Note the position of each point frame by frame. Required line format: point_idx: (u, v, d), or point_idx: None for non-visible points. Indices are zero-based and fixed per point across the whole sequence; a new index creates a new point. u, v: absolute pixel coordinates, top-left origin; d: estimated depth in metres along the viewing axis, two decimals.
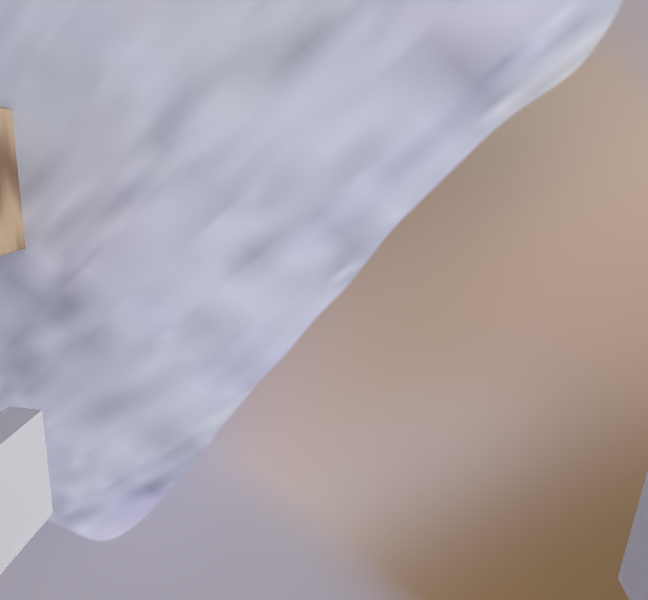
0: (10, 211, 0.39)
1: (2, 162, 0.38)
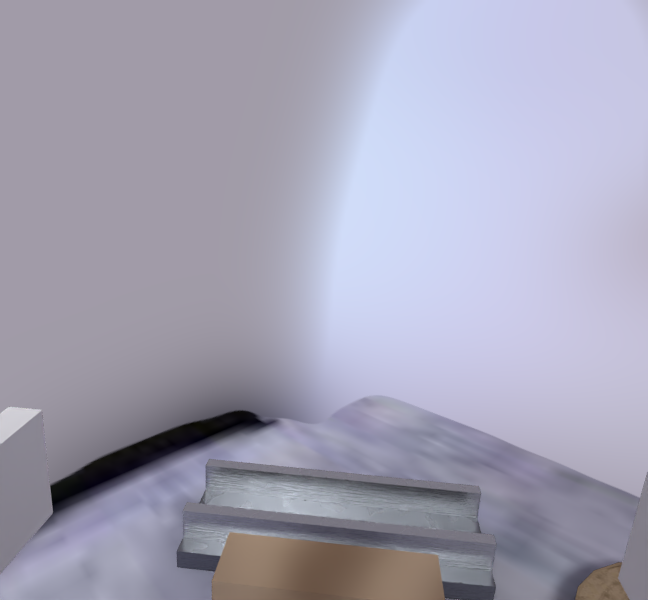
0: None
1: None
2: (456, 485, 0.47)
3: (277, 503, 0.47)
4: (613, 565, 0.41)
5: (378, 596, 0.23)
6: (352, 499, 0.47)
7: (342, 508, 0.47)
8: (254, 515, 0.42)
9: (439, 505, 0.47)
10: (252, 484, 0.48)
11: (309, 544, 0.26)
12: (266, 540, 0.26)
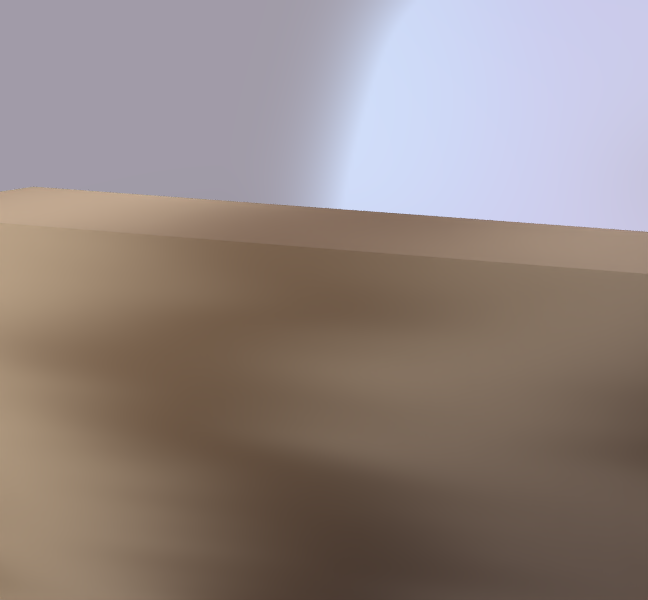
0: None
1: None
2: None
3: None
4: None
5: (546, 262, 0.05)
6: None
7: None
8: None
9: None
10: None
11: (274, 206, 0.08)
12: (139, 196, 0.08)
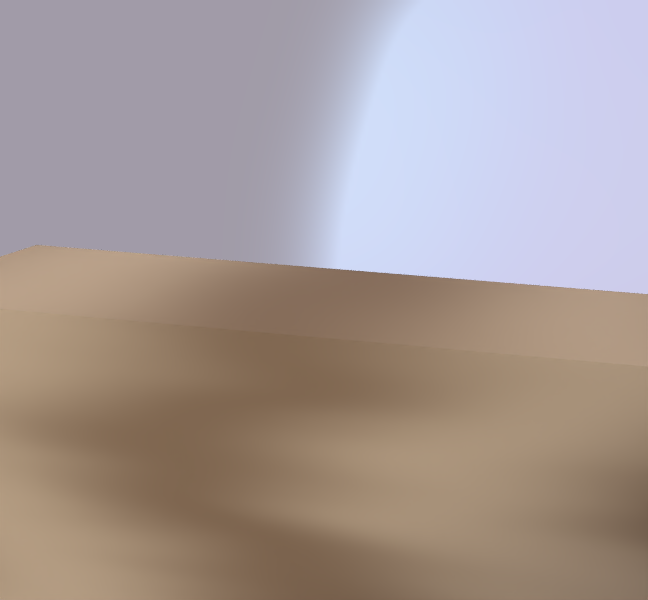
0: None
1: None
2: None
3: None
4: None
5: (532, 349, 0.06)
6: None
7: None
8: None
9: None
10: None
11: (271, 267, 0.08)
12: (140, 257, 0.08)
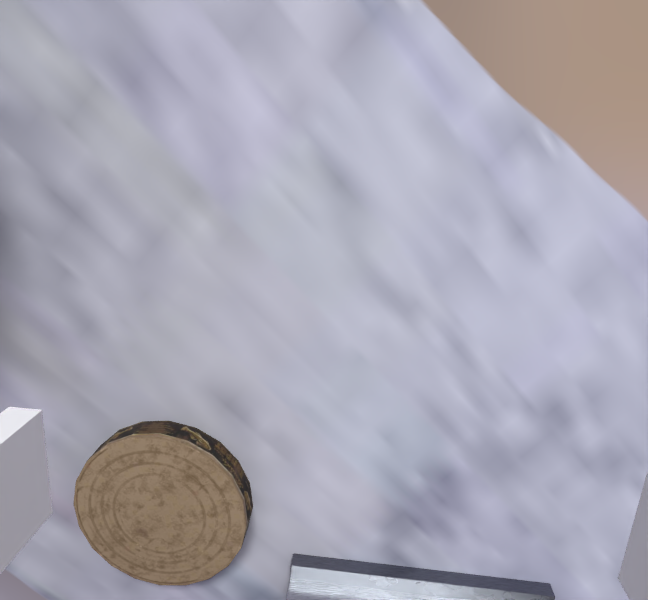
0: None
1: None
2: None
3: None
4: (191, 582, 0.50)
5: None
6: None
7: None
8: None
9: None
10: None
11: None
12: None
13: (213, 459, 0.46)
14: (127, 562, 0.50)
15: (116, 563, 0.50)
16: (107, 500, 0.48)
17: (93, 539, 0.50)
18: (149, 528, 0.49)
